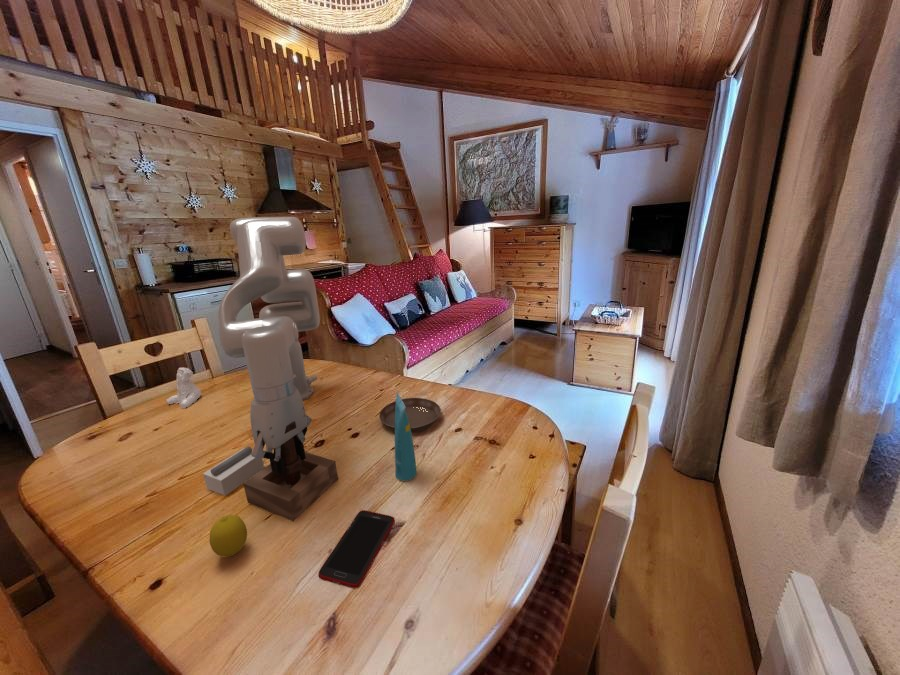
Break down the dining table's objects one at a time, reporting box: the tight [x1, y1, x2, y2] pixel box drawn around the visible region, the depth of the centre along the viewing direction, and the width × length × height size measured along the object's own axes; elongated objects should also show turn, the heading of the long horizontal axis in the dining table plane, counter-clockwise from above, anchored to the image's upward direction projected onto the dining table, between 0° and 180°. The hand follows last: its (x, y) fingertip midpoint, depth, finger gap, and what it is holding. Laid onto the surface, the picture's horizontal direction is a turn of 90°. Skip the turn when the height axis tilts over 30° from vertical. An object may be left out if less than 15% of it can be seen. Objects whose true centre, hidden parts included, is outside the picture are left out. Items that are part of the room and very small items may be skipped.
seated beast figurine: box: [166, 366, 202, 409], centre depth 120 cm, size 10×9×12 cm
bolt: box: [280, 421, 302, 485], centre depth 77 cm, size 6×5×15 cm
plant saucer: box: [378, 397, 442, 434], centre depth 106 cm, size 18×18×3 cm
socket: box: [242, 451, 339, 522], centre depth 79 cm, size 13×13×5 cm
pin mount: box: [202, 445, 265, 497], centre depth 83 cm, size 10×6×6 cm, turn 156°
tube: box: [394, 392, 418, 482], centre depth 81 cm, size 7×5×19 cm, turn 26°
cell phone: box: [317, 509, 395, 589], centre depth 66 cm, size 8×15×1 cm, turn 164°
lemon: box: [209, 514, 248, 558], centre depth 64 cm, size 6×6×8 cm
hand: (289, 464), depth 78 cm, fingers closed on bolt, 4 cm apart
